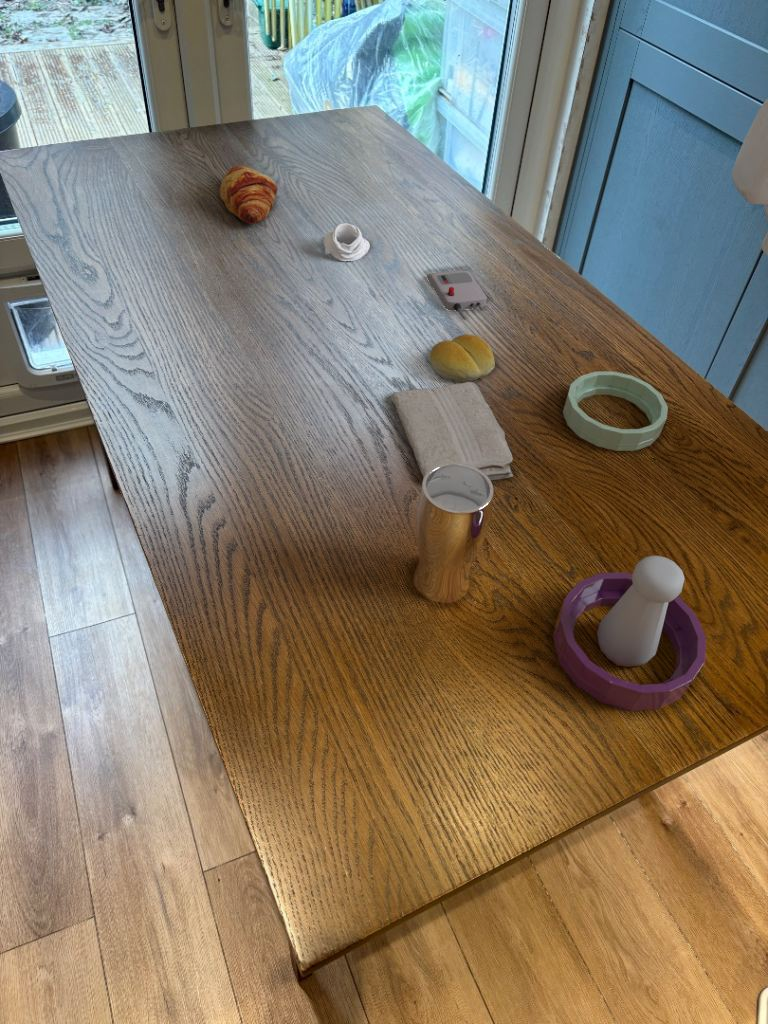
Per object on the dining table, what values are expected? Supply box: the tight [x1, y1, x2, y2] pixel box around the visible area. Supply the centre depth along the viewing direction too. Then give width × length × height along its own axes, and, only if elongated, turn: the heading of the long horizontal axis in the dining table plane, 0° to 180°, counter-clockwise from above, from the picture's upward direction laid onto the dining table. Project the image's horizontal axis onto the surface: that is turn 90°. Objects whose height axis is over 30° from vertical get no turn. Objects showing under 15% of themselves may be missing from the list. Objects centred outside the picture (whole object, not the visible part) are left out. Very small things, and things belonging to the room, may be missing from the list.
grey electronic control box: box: [426, 269, 488, 320], centre depth 119 cm, size 7×16×3 cm, turn 16°
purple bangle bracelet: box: [552, 571, 707, 712], centre depth 73 cm, size 14×14×4 cm
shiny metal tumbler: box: [413, 462, 494, 604], centre depth 74 cm, size 7×7×15 cm
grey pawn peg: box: [596, 555, 685, 668], centre depth 70 cm, size 6×6×13 cm
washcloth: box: [389, 381, 514, 481], centre depth 94 cm, size 12×18×3 cm, turn 15°
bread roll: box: [429, 334, 496, 383], centre depth 105 cm, size 8×9×4 cm
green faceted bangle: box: [562, 370, 669, 452], centre depth 98 cm, size 13×13×4 cm
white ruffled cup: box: [322, 222, 371, 263], centre depth 125 cm, size 8×7×5 cm
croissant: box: [219, 165, 279, 225], centre depth 135 cm, size 21×10×8 cm, turn 14°
